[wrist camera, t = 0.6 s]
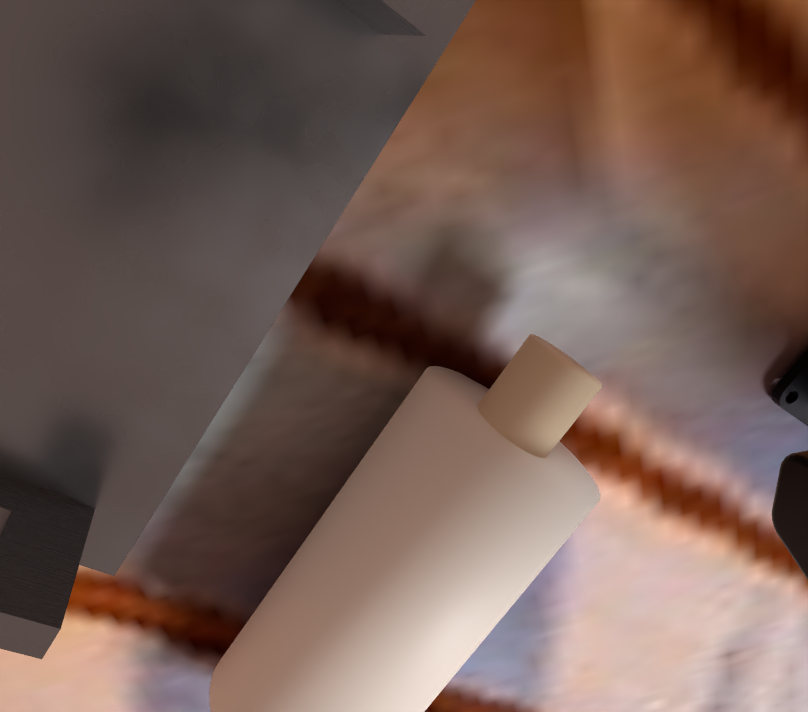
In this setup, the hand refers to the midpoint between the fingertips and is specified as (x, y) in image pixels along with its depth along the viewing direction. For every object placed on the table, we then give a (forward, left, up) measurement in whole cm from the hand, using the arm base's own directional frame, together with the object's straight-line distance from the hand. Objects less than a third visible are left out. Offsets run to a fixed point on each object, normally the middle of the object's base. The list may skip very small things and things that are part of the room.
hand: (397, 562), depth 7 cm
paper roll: (-7, +7, -13) cm, 17 cm away
